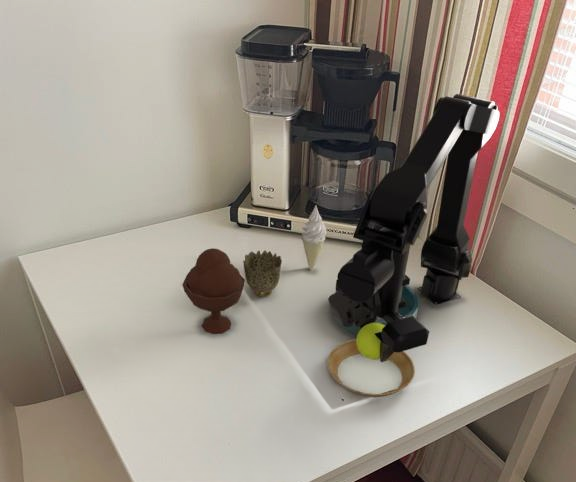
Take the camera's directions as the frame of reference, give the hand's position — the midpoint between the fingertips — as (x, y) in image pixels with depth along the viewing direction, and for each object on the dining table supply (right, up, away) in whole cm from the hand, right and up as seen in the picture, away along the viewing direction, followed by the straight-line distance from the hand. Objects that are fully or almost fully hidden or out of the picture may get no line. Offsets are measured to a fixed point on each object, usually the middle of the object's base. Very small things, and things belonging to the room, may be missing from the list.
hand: (373, 350), depth 101 cm
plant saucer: (0, -4, +4) cm, 6 cm away
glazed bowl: (+2, +8, +17) cm, 19 cm away
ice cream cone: (-9, +18, +28) cm, 35 cm away
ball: (0, -1, +1) cm, 1 cm away
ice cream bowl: (-28, +5, +13) cm, 31 cm away
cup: (-19, +12, +21) cm, 31 cm away
